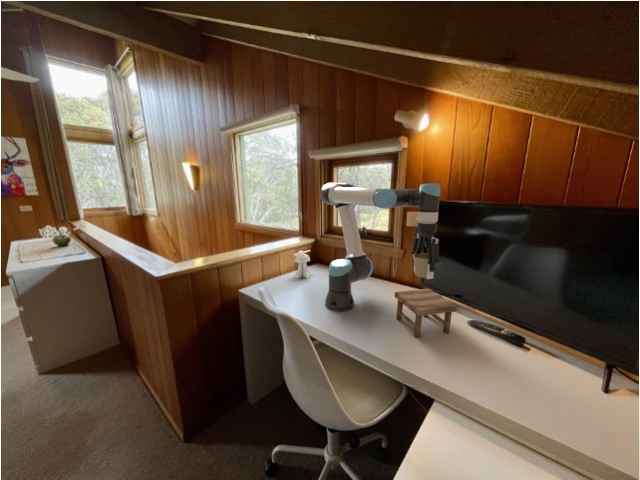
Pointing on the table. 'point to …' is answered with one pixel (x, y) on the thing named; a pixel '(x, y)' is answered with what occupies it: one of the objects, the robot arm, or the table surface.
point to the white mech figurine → (302, 264)
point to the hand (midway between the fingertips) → (423, 274)
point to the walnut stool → (424, 308)
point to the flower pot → (421, 264)
